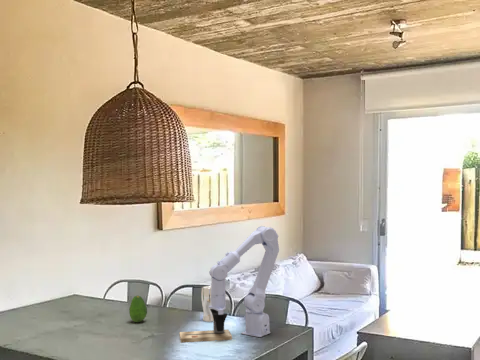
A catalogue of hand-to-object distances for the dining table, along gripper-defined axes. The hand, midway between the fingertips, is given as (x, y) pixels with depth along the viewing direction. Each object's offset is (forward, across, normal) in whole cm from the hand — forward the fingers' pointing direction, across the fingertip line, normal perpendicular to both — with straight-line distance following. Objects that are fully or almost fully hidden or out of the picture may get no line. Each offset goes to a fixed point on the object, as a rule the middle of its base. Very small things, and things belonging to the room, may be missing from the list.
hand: (218, 328), depth 220 cm
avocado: (+4, -32, -32) cm, 46 cm away
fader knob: (+1, 0, 0) cm, 1 cm away
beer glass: (+3, -29, 0) cm, 29 cm away
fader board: (+3, 0, -5) cm, 6 cm away
